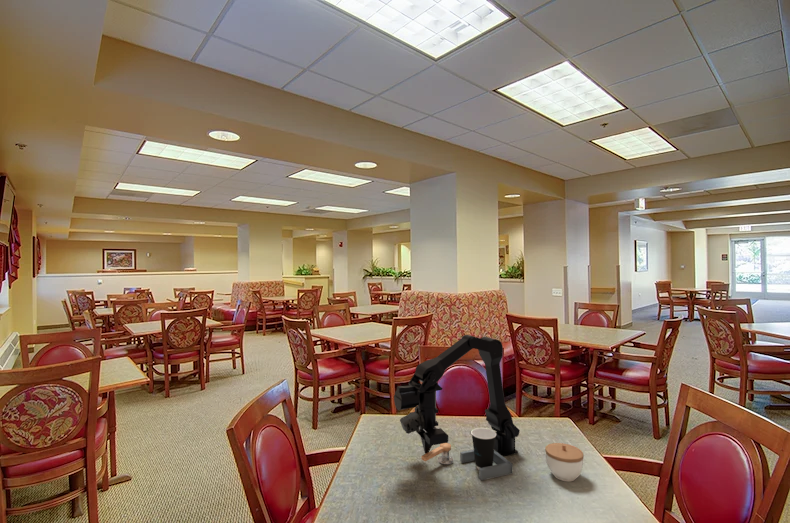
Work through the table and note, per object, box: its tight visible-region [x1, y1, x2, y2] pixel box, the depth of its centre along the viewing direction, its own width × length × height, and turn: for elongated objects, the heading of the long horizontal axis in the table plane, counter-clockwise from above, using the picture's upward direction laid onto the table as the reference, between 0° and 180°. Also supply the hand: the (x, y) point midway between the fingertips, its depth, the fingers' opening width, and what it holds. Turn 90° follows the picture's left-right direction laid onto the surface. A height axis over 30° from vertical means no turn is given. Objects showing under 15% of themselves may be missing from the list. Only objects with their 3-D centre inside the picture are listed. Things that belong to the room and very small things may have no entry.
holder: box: [459, 448, 513, 481], centre depth 125 cm, size 11×12×3 cm
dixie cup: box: [470, 427, 497, 471], centre depth 125 cm, size 8×8×11 cm
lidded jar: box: [544, 442, 585, 483], centre depth 119 cm, size 11×11×9 cm
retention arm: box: [421, 442, 452, 462], centre depth 126 cm, size 13×4×1 cm, turn 135°
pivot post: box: [437, 451, 454, 466], centre depth 129 cm, size 5×5×4 cm
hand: (426, 453), depth 124 cm, fingers closed
